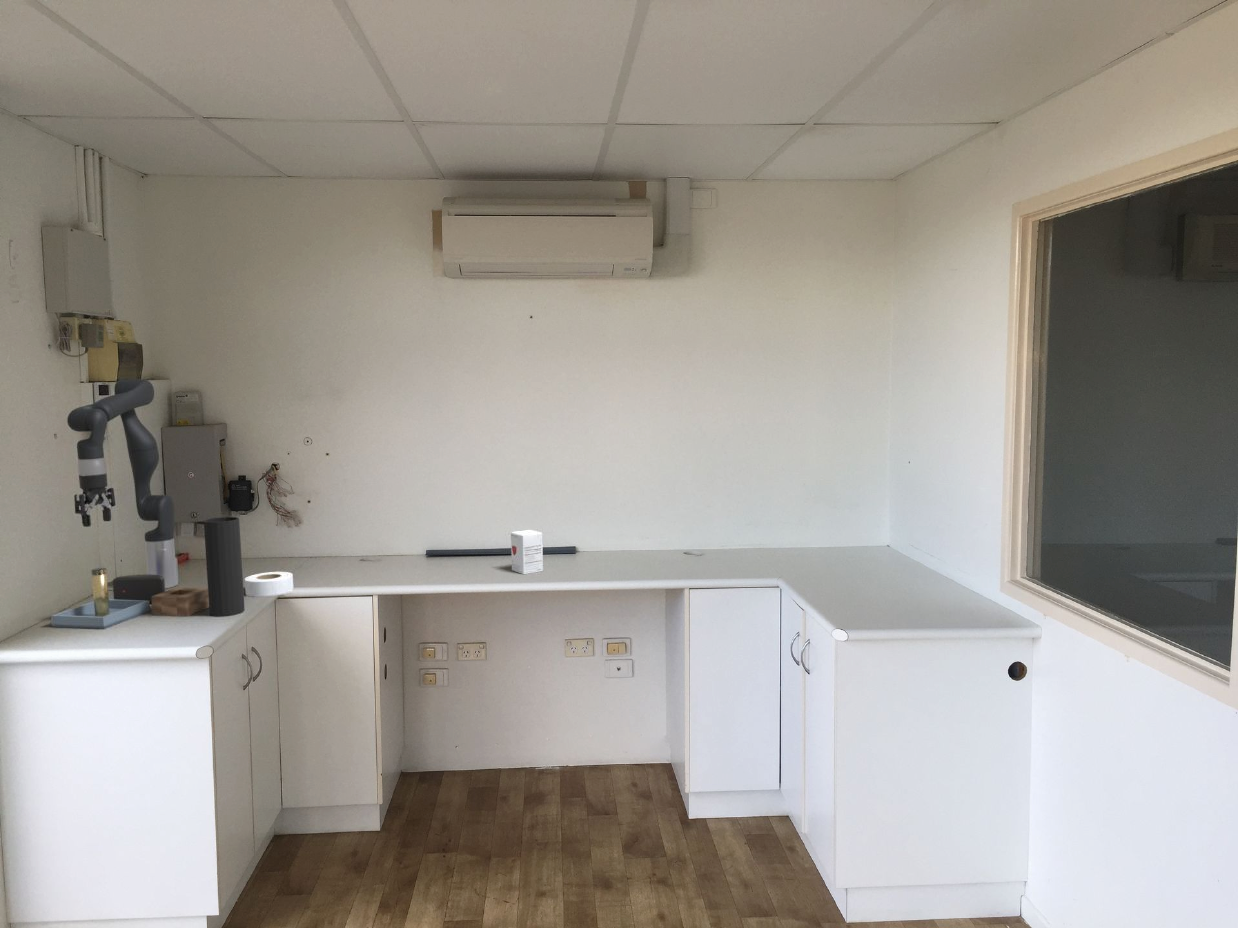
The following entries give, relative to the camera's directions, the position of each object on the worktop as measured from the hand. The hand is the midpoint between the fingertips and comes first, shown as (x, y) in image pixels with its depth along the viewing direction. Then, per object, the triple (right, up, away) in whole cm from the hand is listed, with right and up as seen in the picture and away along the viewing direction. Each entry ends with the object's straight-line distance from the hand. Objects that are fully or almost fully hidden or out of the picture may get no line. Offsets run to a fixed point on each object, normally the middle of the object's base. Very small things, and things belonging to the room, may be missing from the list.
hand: (97, 523), depth 278 cm
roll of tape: (+42, -26, +32) cm, 59 cm away
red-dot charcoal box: (+5, -28, +17) cm, 33 cm away
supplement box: (+129, -22, +57) cm, 143 cm away
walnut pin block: (+23, -29, +7) cm, 37 cm away
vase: (+39, -29, +4) cm, 49 cm away
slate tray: (+2, -30, -1) cm, 30 cm away
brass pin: (+2, -29, -1) cm, 29 cm away
